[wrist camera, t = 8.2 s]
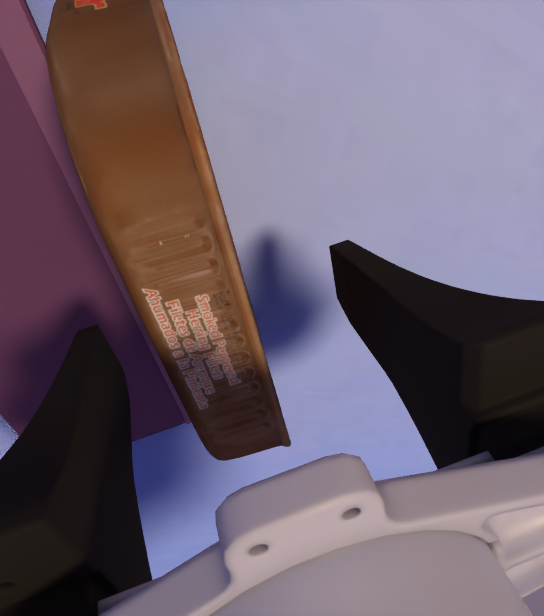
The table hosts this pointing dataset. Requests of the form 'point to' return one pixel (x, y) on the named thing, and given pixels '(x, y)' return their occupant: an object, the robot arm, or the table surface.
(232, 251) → the tin
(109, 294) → the purple rectangular board
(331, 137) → the table surface
